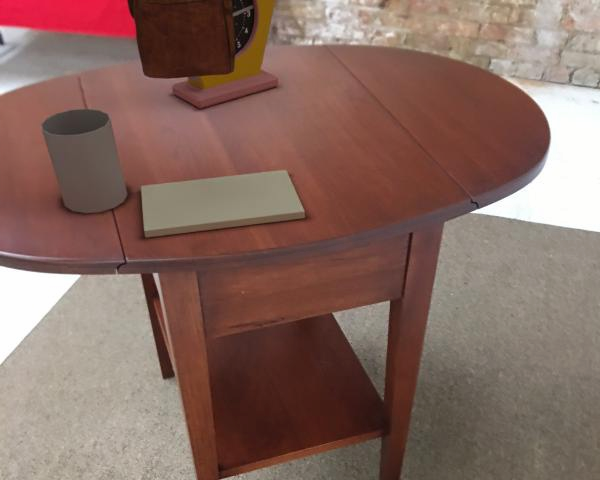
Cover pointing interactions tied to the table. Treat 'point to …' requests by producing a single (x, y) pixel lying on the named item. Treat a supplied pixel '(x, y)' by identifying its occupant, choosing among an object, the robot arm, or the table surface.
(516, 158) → the table surface
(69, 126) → the cup
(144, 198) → the mat
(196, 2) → the wooden figurine
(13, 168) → the table surface
